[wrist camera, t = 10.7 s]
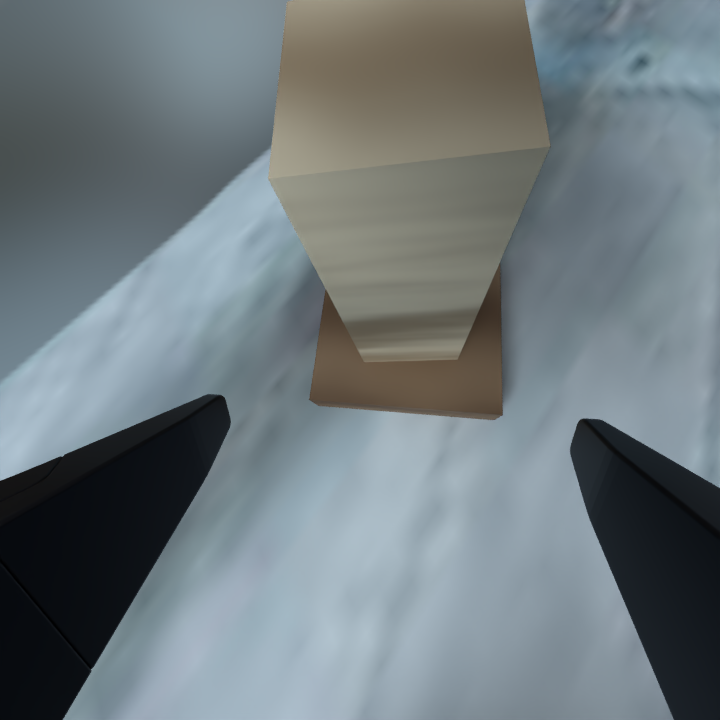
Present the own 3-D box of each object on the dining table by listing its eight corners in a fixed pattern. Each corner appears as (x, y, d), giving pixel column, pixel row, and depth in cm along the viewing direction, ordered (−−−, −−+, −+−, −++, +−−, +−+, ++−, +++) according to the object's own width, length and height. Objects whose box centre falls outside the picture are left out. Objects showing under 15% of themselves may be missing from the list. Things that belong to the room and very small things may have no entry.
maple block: (457, 359, 18) (551, 146, 6) (364, 362, 19) (268, 178, 6) (451, 275, 19) (516, -43, 7) (364, 280, 20) (286, 1, 8)
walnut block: (491, 421, 19) (502, 414, 17) (320, 407, 21) (309, 399, 19) (490, 266, 22) (499, 242, 20) (340, 265, 24) (332, 243, 21)
